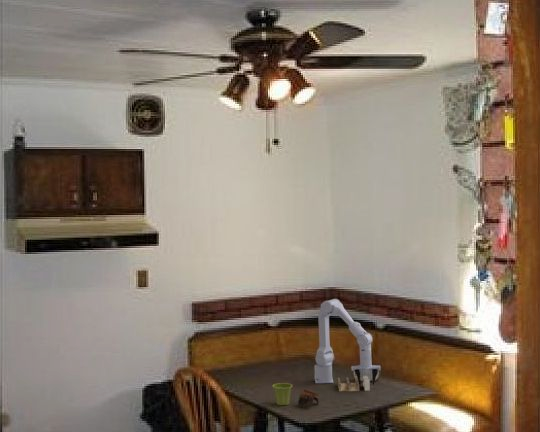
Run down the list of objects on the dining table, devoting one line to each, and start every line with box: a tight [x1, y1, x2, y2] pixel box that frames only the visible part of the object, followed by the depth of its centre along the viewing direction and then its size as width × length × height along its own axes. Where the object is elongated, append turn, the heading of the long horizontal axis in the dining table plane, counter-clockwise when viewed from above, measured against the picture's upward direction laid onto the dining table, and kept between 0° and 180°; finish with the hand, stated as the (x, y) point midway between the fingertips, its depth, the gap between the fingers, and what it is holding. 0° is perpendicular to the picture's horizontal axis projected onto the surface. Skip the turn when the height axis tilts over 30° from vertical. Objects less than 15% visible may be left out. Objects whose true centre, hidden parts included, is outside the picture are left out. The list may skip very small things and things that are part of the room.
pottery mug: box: [297, 389, 320, 409], centre depth 303 cm, size 12×10×8 cm
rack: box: [337, 376, 360, 392], centre depth 331 cm, size 10×12×4 cm
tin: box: [351, 364, 381, 382], centre depth 344 cm, size 15×3×8 cm, turn 84°
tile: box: [362, 376, 371, 392], centre depth 330 cm, size 2×9×5 cm, turn 178°
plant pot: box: [272, 382, 293, 406], centre depth 307 cm, size 9×9×9 cm
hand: (366, 384), depth 330 cm, fingers open, 6 cm apart
